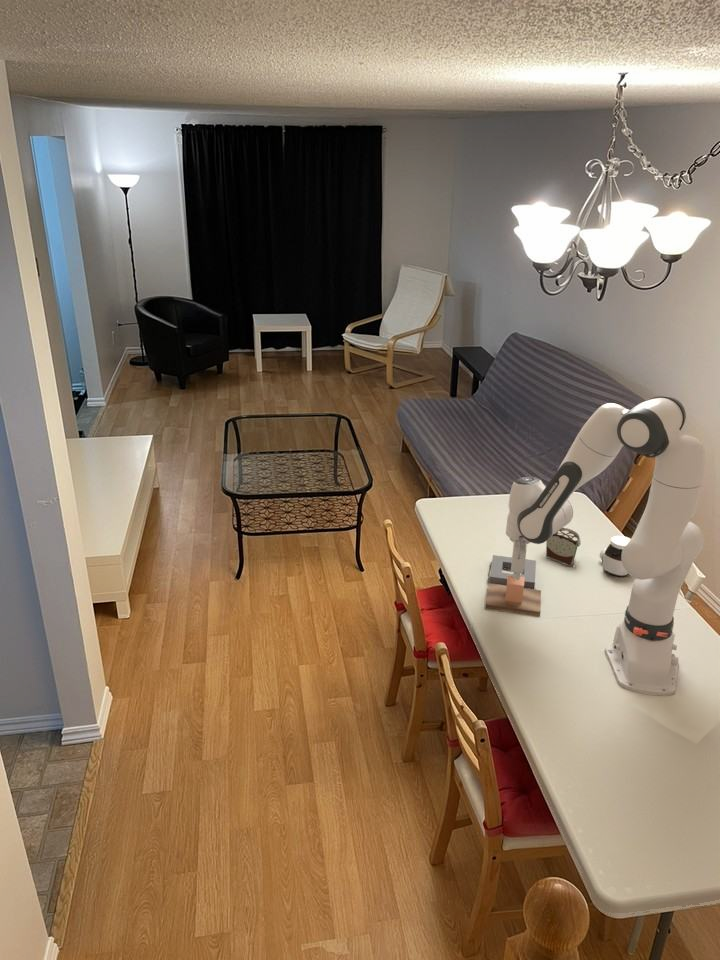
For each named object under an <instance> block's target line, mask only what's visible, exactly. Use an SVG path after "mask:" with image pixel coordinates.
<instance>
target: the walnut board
mask: <svg viewBox="0 0 720 960" xmlns="http://www.w3.org/2000/svg"><path fill="white" fill-rule="evenodd" d="M506 587H507V586H505V585H498V584H490V583H489V582H488V586H487V591H486V592H487V593H486V600H485V606H484V608H485V609H487V610H494V611H501V612H507V613H515V614H522V615H529V616H535V617H541V609H542V608H541V607H542V606H541V604H542V590H541V589H535V588H534V589H527V588H524V590H523V598H522V603H519V602H512V601H505V596H506Z"/></svg>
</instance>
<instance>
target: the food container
mask: <svg viewBox="0 0 720 960" xmlns="http://www.w3.org/2000/svg"><path fill="white" fill-rule="evenodd" d="M545 542H546V543H545V545H546V546H545V547H546V549H545V557H547V558H548V557H549V559H552V560H553V561H557V562H559V563H562V564H564V565H566V566H568V567H569V566H570V567H572V566H573V564H574V561H575V558H576V557H575V556H576V554H577V551H578V547H580V546H581V542H582V541H581V536H580V535H579V533H578V532H577V531H574V530H573V529H571V528H569V527H567V528H566V527H563V528H562V529H560V530H559V531H558V532H556V533H555V534H553V535H552V536H551V537H550V538H549V539H548V540H546V541H545Z"/></svg>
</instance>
